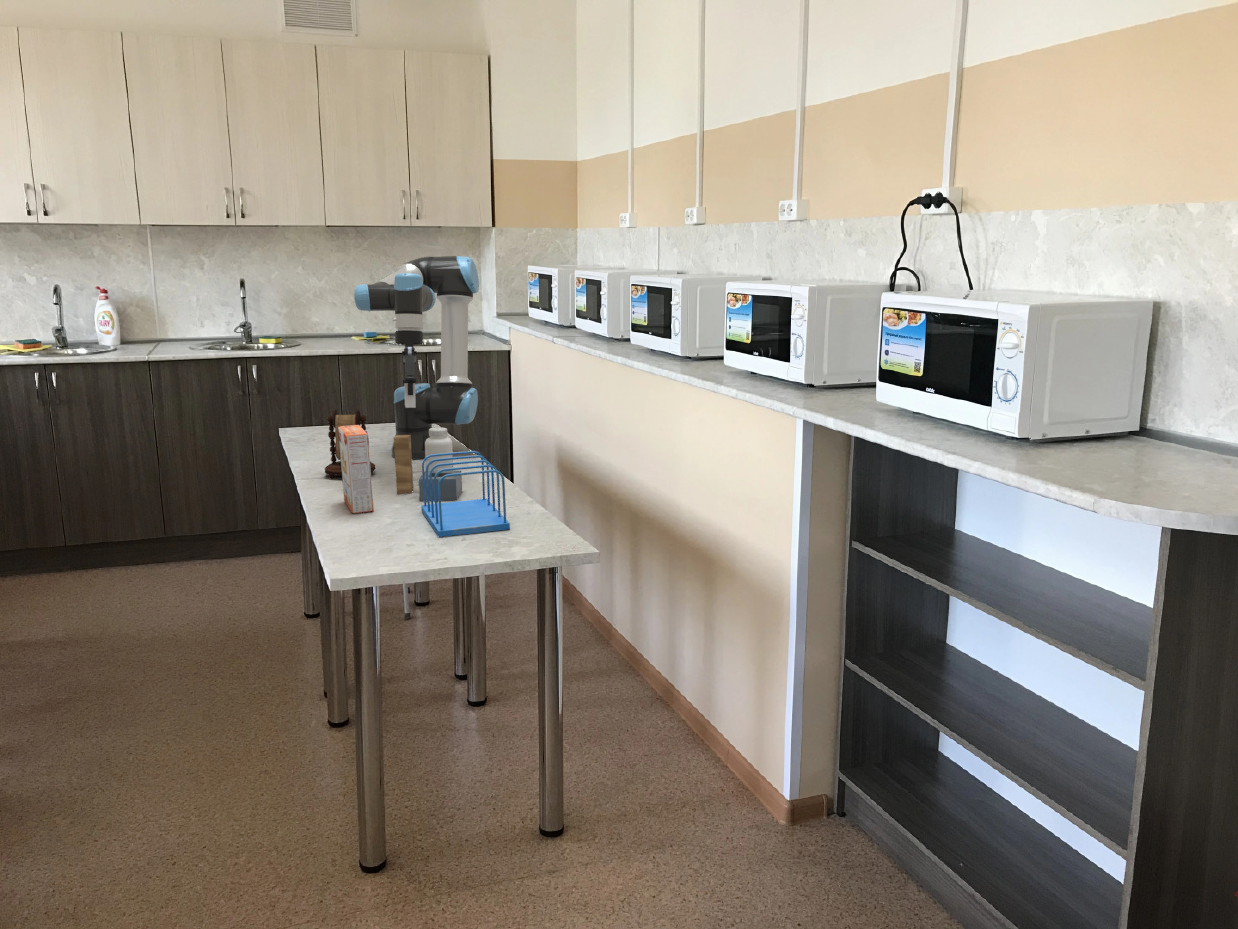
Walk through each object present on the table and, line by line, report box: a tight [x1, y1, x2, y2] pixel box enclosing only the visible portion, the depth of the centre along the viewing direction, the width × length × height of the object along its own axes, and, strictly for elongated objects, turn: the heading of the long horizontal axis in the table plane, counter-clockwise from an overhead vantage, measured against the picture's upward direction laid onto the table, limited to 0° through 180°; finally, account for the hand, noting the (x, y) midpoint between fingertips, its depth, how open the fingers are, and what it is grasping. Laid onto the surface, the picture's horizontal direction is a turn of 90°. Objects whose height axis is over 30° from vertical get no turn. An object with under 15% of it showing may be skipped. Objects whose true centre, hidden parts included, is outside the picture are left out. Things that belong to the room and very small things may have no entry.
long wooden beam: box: [393, 434, 414, 494], centre depth 275 cm, size 3×4×16 cm
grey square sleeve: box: [418, 470, 463, 502], centre depth 271 cm, size 10×10×6 cm
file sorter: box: [420, 450, 511, 538], centre depth 246 cm, size 25×17×15 cm
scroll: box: [324, 408, 377, 480], centre depth 296 cm, size 15×15×20 cm
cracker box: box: [338, 424, 374, 514], centre depth 259 cm, size 14×6×21 cm, turn 23°
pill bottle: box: [425, 426, 454, 471], centre depth 290 cm, size 8×8×15 cm
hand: (410, 406), depth 276 cm, fingers open, 13 cm apart
